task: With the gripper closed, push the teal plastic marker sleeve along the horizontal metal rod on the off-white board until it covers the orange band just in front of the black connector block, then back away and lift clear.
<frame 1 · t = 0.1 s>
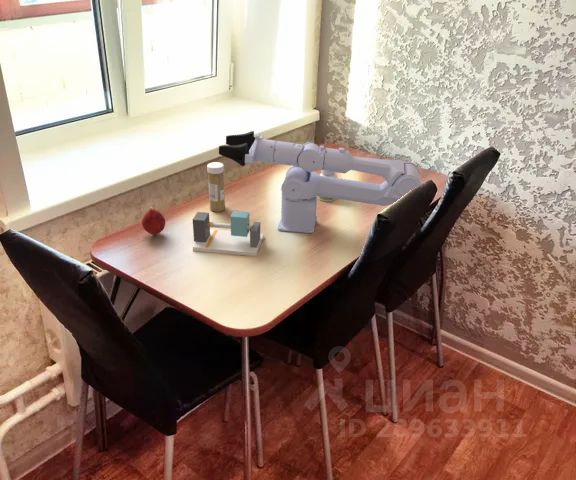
hand: (222, 144, 148), 22 cm above the table, tool horizontal, fingers open, 7 cm apart
sprinkles bottle: (217, 209, 164), on the table
supplement bottle: (326, 198, 172), on the table
marker sleeve: (240, 223, 143), point 6 cm above the table, slide at 0.0 cm
sliding block rail: (229, 243, 147), on the table
onion: (155, 235, 150), on the table
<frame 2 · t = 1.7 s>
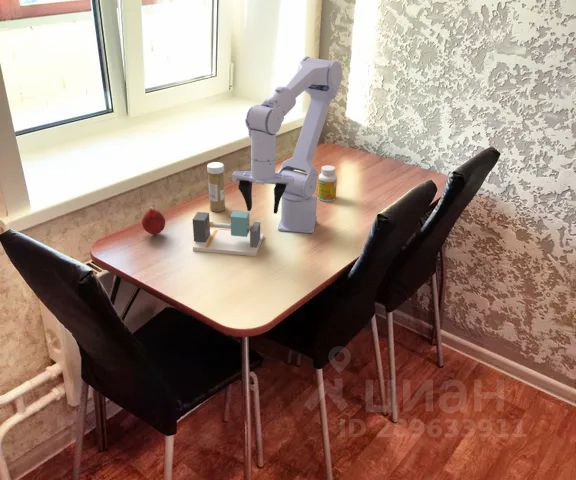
hand: (262, 210, 140), 10 cm above the table, tool pointing down, fingers open, 6 cm apart
nothing on the table moved.
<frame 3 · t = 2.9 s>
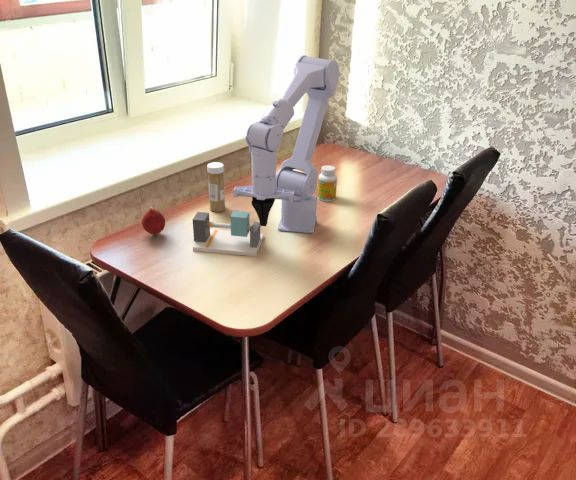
hand: (263, 224, 142), 6 cm above the table, tool pointing down, fingers closed
nothing on the table moved.
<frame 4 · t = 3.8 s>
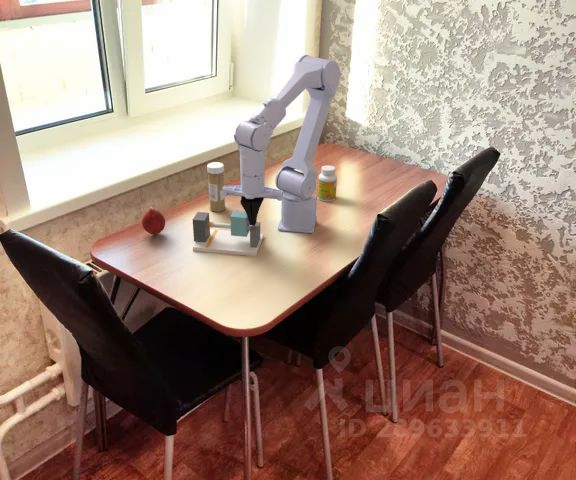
hand: (252, 223, 143), 6 cm above the table, tool pointing down, fingers closed
marker sleeve: (240, 223, 143), point 6 cm above the table, slide at 0.0 cm, touching gripper
everything else where it was.
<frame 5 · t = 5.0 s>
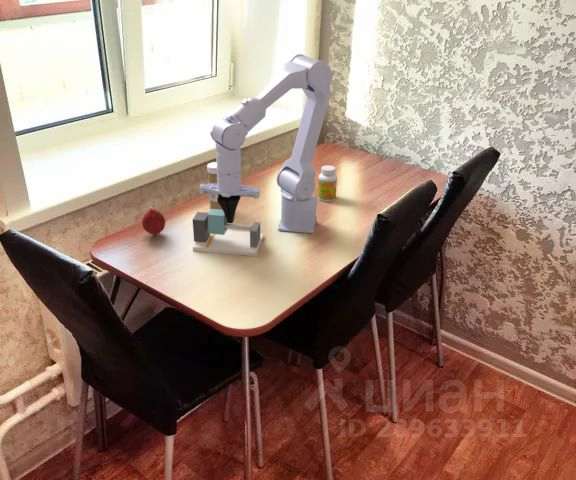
hand: (230, 221, 143), 6 cm above the table, tool pointing down, fingers closed
marker sleeve: (217, 221, 144), point 6 cm above the table, slide at 5.7 cm, touching gripper
everything else where it was.
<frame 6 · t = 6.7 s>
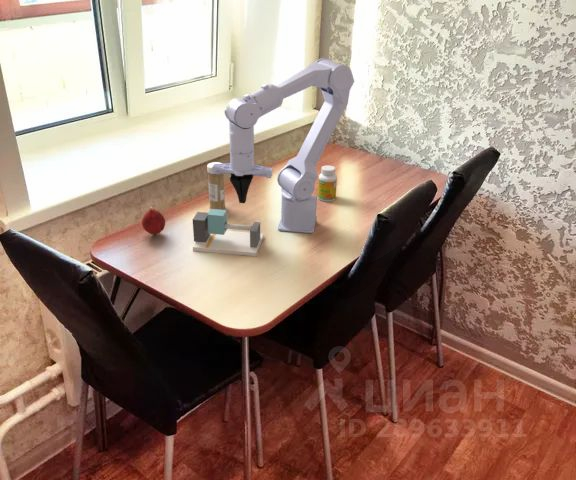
hand: (242, 201, 145), 10 cm above the table, tool pointing down, fingers closed
marker sleeve: (217, 221, 144), point 6 cm above the table, slide at 5.8 cm
everything else where it was.
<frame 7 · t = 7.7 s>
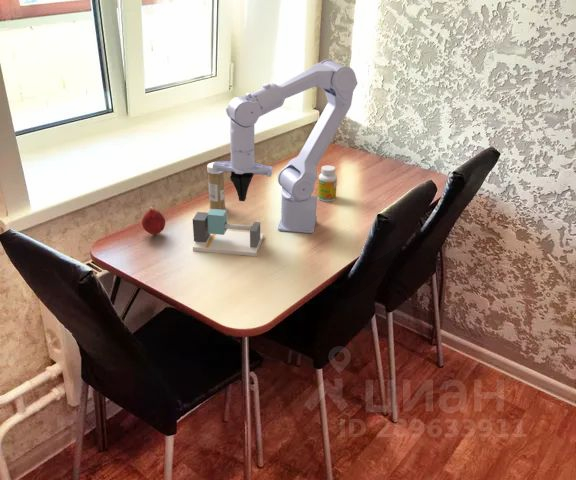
hand: (242, 199, 145), 10 cm above the table, tool pointing down, fingers closed
nothing on the table moved.
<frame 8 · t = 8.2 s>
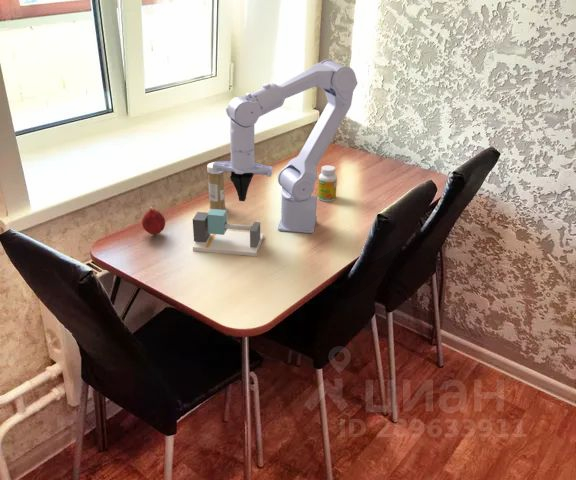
hand: (242, 199, 145), 10 cm above the table, tool pointing down, fingers closed
nothing on the table moved.
at the end: marker sleeve slide at 5.8 cm; sprinkles bottle moved 0.2 cm from its start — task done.
